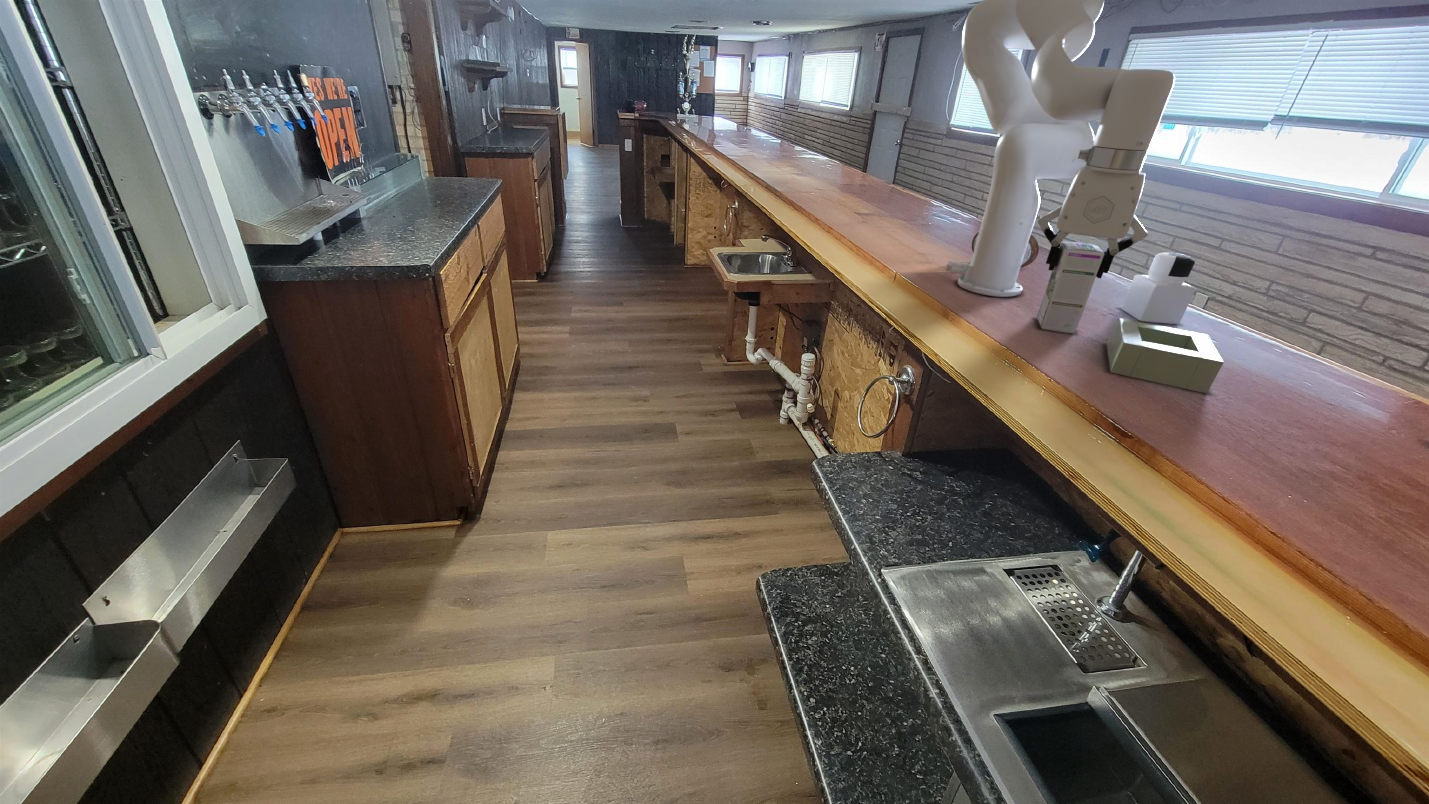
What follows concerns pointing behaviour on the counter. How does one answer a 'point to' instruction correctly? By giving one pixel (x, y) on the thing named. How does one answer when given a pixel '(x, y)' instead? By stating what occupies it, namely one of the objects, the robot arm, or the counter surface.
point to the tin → (1029, 253)
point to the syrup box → (1069, 286)
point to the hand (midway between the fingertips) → (1074, 271)
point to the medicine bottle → (1161, 290)
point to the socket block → (1163, 355)
